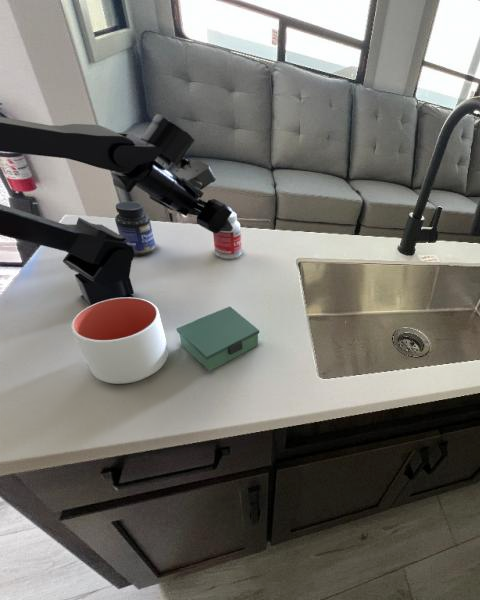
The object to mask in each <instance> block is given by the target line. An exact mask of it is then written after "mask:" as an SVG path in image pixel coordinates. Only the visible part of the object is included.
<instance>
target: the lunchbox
mask: <svg viewBox="0 0 480 600" xmlns="http://www.w3.org/2000/svg"><path fill="white" fill-rule="evenodd" d="M175 329H176V332H177V333H178V334H179V339H180V344H181V346H182V347H183V348H184V349H185V350H186V351H187V352H188V353H189V354H190V355H191V356H192V357H194V359H196V360H197V361H198V362H199V363H200V365H202V366H203V367H204V368H205V369H206V370H207V371H208V372H211V371H213V370H215V369H217V368H219V367H220V366H222V365H224V364H226V363H228V362H229V361H231V360H233V359H235V358H237V357H239V356H241V355H243V354H244V353H246V352H247V351H250V350H252V349H254V348H256V347H257V346H259V334H260V329H259V328H257V327H256V326H255V325H254V324H252V322H250V321H249V320H248V319H247V318H245V317H244V316H243V315H242V314H240V313H239V312H238V311H237V310H235V309H234V308H233V307H232V306H231V305H230V306H226V307H225V308H223V309H220V310H217V311H215V312H212V313H211V314H207V315H205V316H202V317H200V318H198V319H195V320H193V321H191V322H188V323H186V324H183V325H181V326H179V327H176V328H175Z"/></svg>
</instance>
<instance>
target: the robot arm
mask: <svg viewBox="0 0 480 600" xmlns="http://www.w3.org/2000/svg"><path fill="white" fill-rule="evenodd" d="M194 143H195V139H194V137H193V136H192V135H191V134H189V132H187V131H185V130H184V129H182V128H180V127H179V126H178V125H176V124H174V123H173V122H172V121H170V120H169V119H168V118H167V117H166V116H164V115H161V114H158V113H156V114H155V115H154V116H153V118H152V120H151V122H150V124H149V126H148V127H147V128H146V129H145V131H144V132H143V134H142V135H141V137H138V136H136V135H134V134H132V133H127V132H116V131H114V130H111V129H109V128H107V127H105V126H102V125H99V124H90V123H89V124H88V123H87V124H85V123H69V124H63V125H53V124H52V125H51V124H45V123H40V122H33V121H26V120H21V119H16V118H10V117H4V116H0V152H1V153H2V152H3V153H10V154H11V153H12V154H22V155H31V156H40V157H51V158H58V159H67V160H71V161H76V162H78V163H82V164H85V165H88V166H91V167H95V168H99V169H103V170H107V171H110V172H111V176H112V181H113V182H112V183H113V186H114V187H116V188H118V189H120V190H121V191H124V192H126V193H131V192H132V191H133V189H134V188H135V187H137V188H138V189H140V190H142V191H143V192H144V193H146V194H148V197H149V199H150V200H152V201H153V202H154V203H156V204H159V205H160V206H162V207H164V208H167V209H168V210H171V211H174V212H177V213H179V214H181V215H183V216H185V217H187V216H188V215H192V216H196V225H199V226H200V227H202V228H204V229H205V230H207V231H208V232H211V233H212V234H213V233H215V234H216V233H219V231H231V230H232V229H233V227H232V225H231V224H230V222H229V221H228V218H229V216H230V215H231V213H232V211H233V209H232V208H231V207H229V206H228V205H227V204H225V203H223V202H221V201H219V200H218V199H215V198H211V199H207V201H205V200H202V199H201V198H202V197H203V196H204V194H205V192H203V191H202V190H204V189H205V188H206V187H207V186H209V185H211V184H212V183H215V181H216V180H217V177H216V176H215V175H214V172H213V171H212V168H211V167H210V165H208V164H207V163H205V162H203V161H201V160H199V159H192V158H190V159H189V160H188V159H187V158H185V156H186V154H187V153H188V152H189V150H190V149H191V147H192V146H193V144H194ZM156 160H157V161H156ZM159 162H160V163H162V164H164V165H166V166H167V167H169V166H171V164H172V165H174V169H175V171H176V172H175V173H173V172H171V171H170V170H168V169H167V168H166V167H164V166H163V165H162V164H160V163H159ZM0 236H3V237H7V238H10V239H15V240H19V241H23V242H27V243H30V244H35V245H38V246H43V247H47V248H50V249H55V250H59V251H62V252H66V253H67V254H66V255H65V257H64V258H63V260H62V262H63V264H64V265H66V266H67V267H68V268H69V269H70V270H72V271H74V272H76V273H75V274H74V277H75V279H76V282H77V284H78V287H79V289H80V292H81V294H82V295H80V298H81V300H82V301H83V302H84V303H85V304H86V306H87V307H89V306H91V305H93V304H96V303H98V302H101V301H105V300H109V299H114V298H127V297H130V298H136V297H135V296H134V294H135V291H134V287H133V284H132V280H131V278H130V274H131V268H132V263H133V260H134V258H135V255H134V250H133V247H132V246H131V245H130V244H128V243H127V242H125V240H126V238H124V237H122V236H121V235H119V233H118V232H115V231H114V230H112V229H111V228H108V227H107V226H104V225H103V224H99V223H98V224H96V223H91V222H89V221H88V220H85V219H83V218H82V217H78V218H77V221H76V224H68V223H67V224H66V223H61V222H58V221H55V220H52V219H48V218H45V217H43V216H39V215H36V214H34V213H29V212H26V211H24V210H21V209H17V208H14V207H11V206H8V205H5V204H3V203H0Z"/></svg>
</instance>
